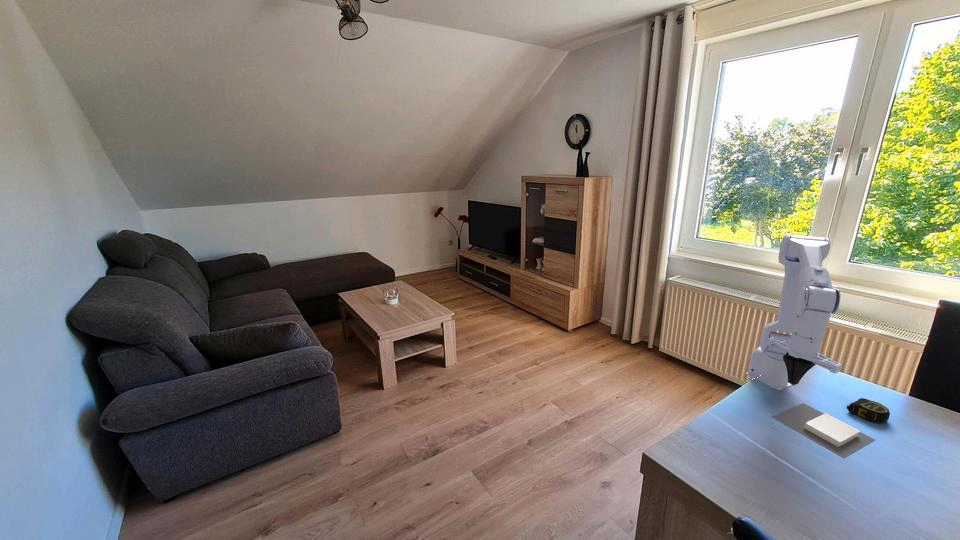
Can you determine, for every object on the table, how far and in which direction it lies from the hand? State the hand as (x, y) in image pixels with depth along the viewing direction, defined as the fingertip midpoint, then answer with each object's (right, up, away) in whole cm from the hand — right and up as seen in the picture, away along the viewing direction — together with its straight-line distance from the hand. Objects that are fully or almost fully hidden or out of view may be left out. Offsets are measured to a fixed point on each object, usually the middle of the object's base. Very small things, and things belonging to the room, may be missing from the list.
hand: (792, 382), depth 94 cm
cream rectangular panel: (+6, -10, 0) cm, 11 cm away
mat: (+6, -11, -1) cm, 13 cm away
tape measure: (+22, -10, +4) cm, 25 cm away
